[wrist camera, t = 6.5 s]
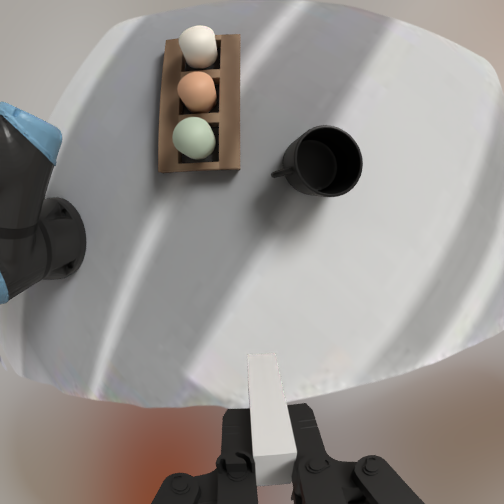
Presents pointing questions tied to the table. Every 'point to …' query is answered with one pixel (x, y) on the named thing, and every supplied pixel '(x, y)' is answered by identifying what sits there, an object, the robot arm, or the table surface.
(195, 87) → the peach egg
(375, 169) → the table surface
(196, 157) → the pale green egg
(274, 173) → the mug
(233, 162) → the wooden tray
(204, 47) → the white egg
